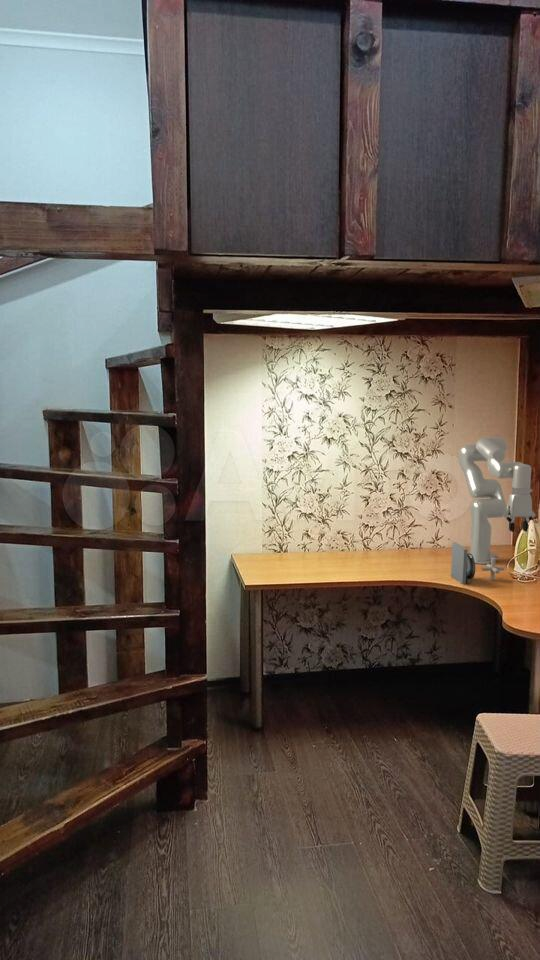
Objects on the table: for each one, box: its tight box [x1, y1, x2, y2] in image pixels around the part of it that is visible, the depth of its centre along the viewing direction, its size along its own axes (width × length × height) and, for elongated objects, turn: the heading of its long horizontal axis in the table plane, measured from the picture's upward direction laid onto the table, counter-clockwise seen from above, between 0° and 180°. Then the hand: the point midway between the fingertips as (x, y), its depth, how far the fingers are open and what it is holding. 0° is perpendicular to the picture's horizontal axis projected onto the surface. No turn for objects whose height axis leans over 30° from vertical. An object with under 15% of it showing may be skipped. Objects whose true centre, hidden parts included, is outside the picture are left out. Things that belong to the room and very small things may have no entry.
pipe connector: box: [480, 558, 505, 581], centre depth 298 cm, size 10×10×10 cm
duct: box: [466, 552, 476, 579], centre depth 296 cm, size 4×12×12 cm, turn 7°
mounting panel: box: [450, 541, 473, 585], centre depth 296 cm, size 6×13×16 cm, turn 7°
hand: (518, 530), depth 297 cm, fingers open, 5 cm apart
